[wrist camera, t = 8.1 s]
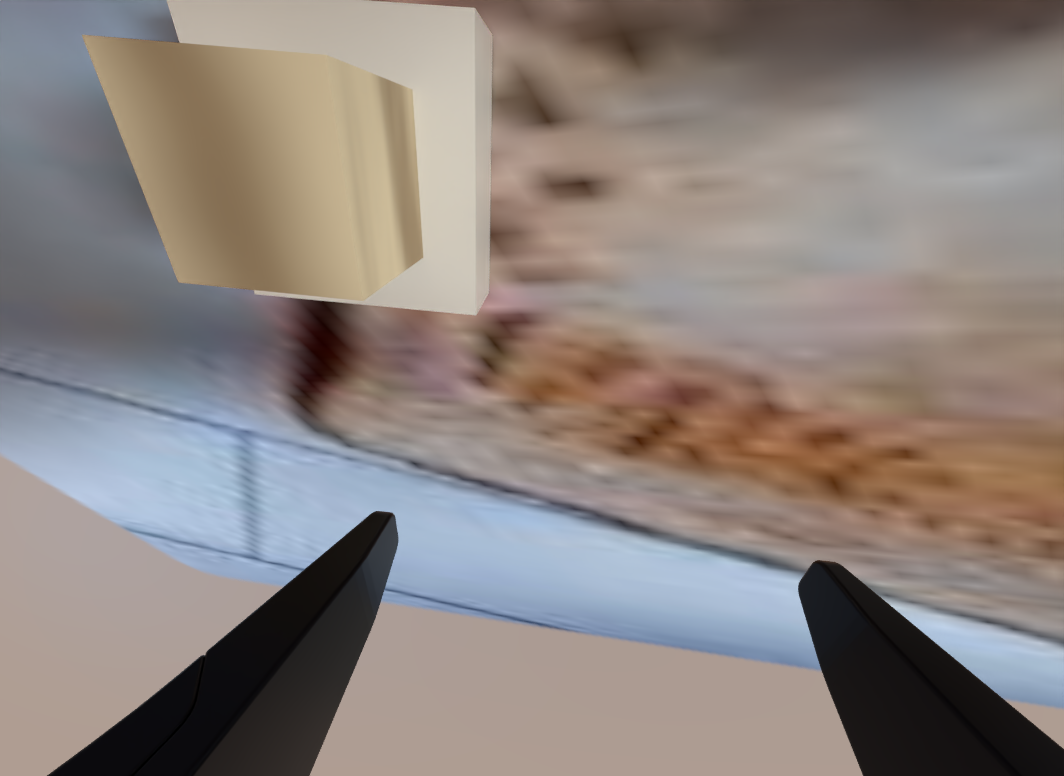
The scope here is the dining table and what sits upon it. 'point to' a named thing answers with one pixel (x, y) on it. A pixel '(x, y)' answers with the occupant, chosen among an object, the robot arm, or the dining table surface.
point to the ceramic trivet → (439, 113)
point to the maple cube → (268, 164)
